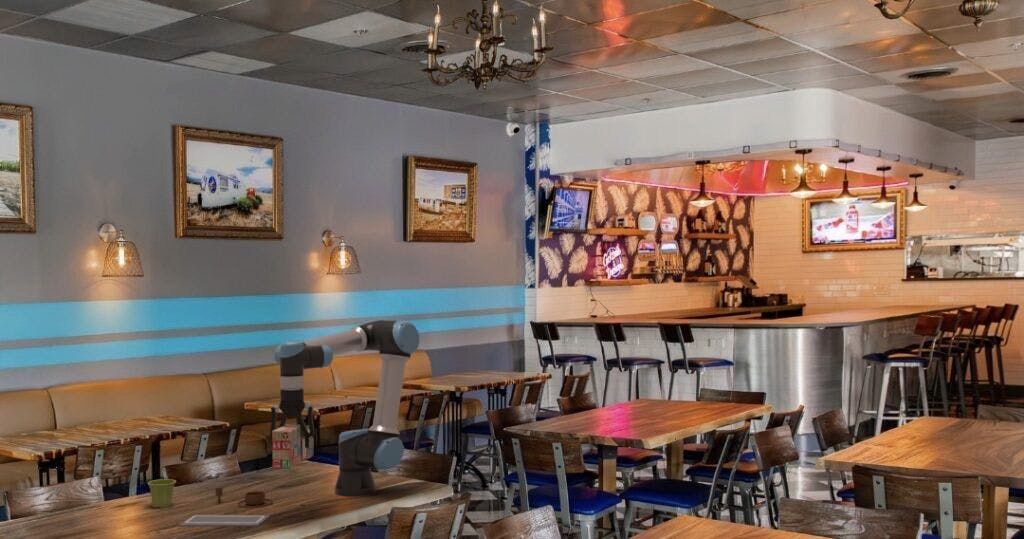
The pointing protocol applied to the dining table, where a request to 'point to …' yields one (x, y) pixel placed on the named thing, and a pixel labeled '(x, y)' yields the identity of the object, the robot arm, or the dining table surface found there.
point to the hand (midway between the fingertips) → (292, 457)
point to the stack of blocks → (289, 447)
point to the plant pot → (161, 492)
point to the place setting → (249, 498)
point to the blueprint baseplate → (224, 520)
